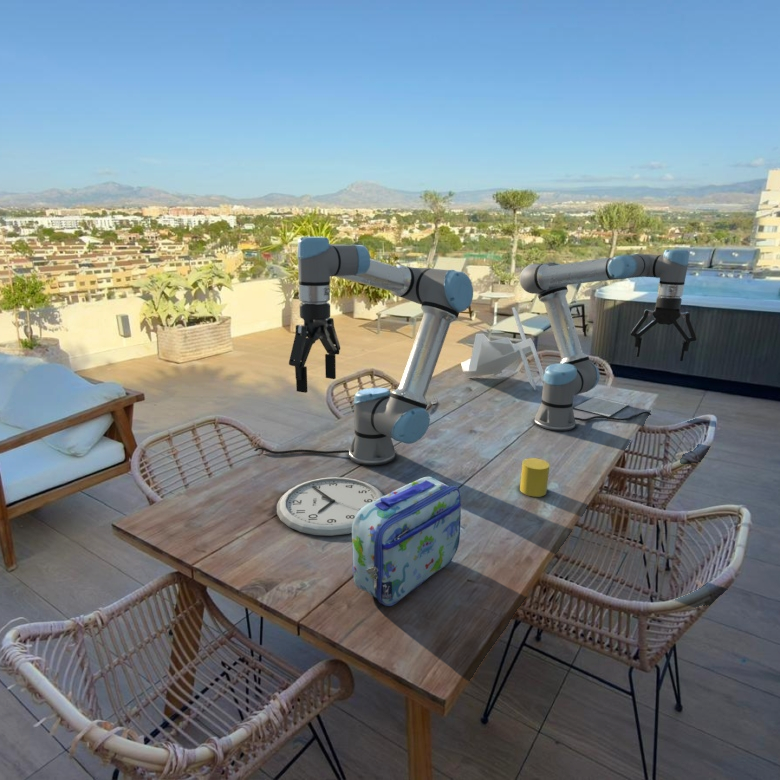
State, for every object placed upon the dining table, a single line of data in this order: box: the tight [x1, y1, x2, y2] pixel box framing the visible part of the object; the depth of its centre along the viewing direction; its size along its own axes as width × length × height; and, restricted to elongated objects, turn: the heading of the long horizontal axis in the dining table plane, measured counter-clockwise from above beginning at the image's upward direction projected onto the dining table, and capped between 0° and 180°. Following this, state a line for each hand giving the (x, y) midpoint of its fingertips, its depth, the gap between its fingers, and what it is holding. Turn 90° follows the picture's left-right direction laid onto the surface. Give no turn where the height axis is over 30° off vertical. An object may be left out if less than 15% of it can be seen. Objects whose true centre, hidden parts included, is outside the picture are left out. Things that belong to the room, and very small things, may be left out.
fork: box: [426, 396, 439, 412], centre depth 222 cm, size 3×16×2 cm, turn 160°
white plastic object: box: [460, 306, 545, 391], centre depth 259 cm, size 37×45×31 cm
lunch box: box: [351, 476, 462, 607], centre depth 111 cm, size 26×11×21 cm, turn 135°
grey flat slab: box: [573, 396, 629, 417], centre depth 226 cm, size 21×1×15 cm
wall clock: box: [276, 476, 385, 537], centre depth 142 cm, size 30×2×30 cm
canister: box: [519, 457, 550, 498], centre depth 152 cm, size 8×8×9 cm
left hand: (316, 384), depth 135 cm, fingers open, 13 cm apart
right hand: (658, 358), depth 183 cm, fingers open, 13 cm apart
